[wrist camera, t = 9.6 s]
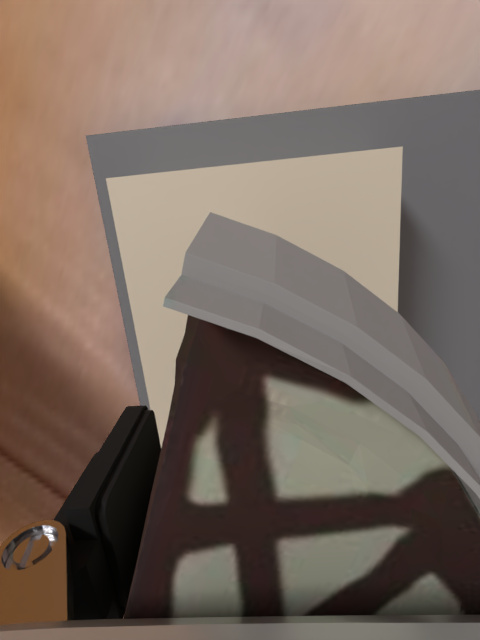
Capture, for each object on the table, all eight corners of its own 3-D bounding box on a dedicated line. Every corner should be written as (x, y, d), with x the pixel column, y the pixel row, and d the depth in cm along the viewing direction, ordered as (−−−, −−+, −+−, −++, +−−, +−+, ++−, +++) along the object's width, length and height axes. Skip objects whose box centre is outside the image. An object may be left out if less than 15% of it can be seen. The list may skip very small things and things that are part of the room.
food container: (311, 524, 17) (375, 966, 7) (170, 491, 17) (50, 902, 7) (427, 241, 13) (919, 422, 3) (241, 193, 12) (175, 232, 3)
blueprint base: (561, 84, 16) (684, 42, 12) (505, 478, 23) (569, 556, 18) (95, 138, 18) (35, 120, 13) (164, 493, 24) (141, 567, 19)
